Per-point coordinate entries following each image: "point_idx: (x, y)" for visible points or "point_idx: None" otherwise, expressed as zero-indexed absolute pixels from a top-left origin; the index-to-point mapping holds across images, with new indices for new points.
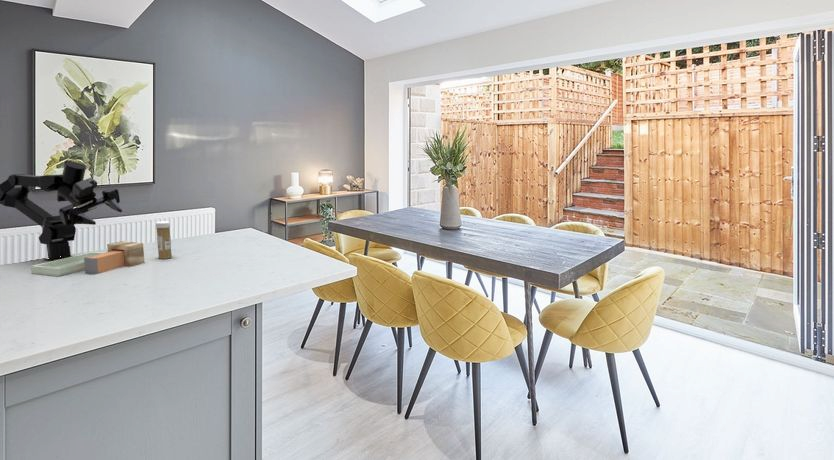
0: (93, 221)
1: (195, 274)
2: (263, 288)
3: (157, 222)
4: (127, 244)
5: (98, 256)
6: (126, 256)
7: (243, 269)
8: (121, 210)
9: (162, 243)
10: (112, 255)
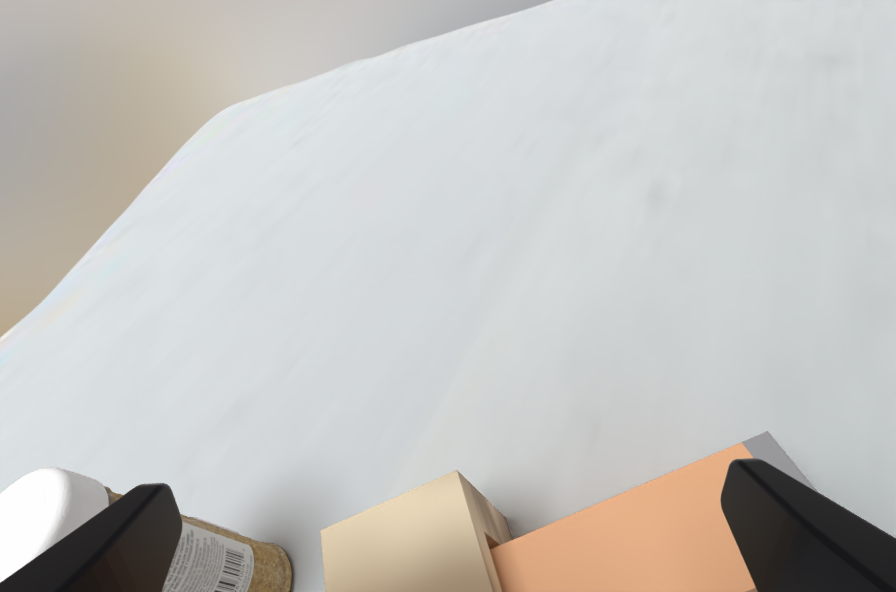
0: (771, 470)
1: (413, 205)
2: (409, 58)
3: (30, 545)
4: (421, 567)
5: (718, 504)
6: (494, 527)
7: (301, 193)
8: (159, 492)
9: (214, 532)
10: (598, 505)
